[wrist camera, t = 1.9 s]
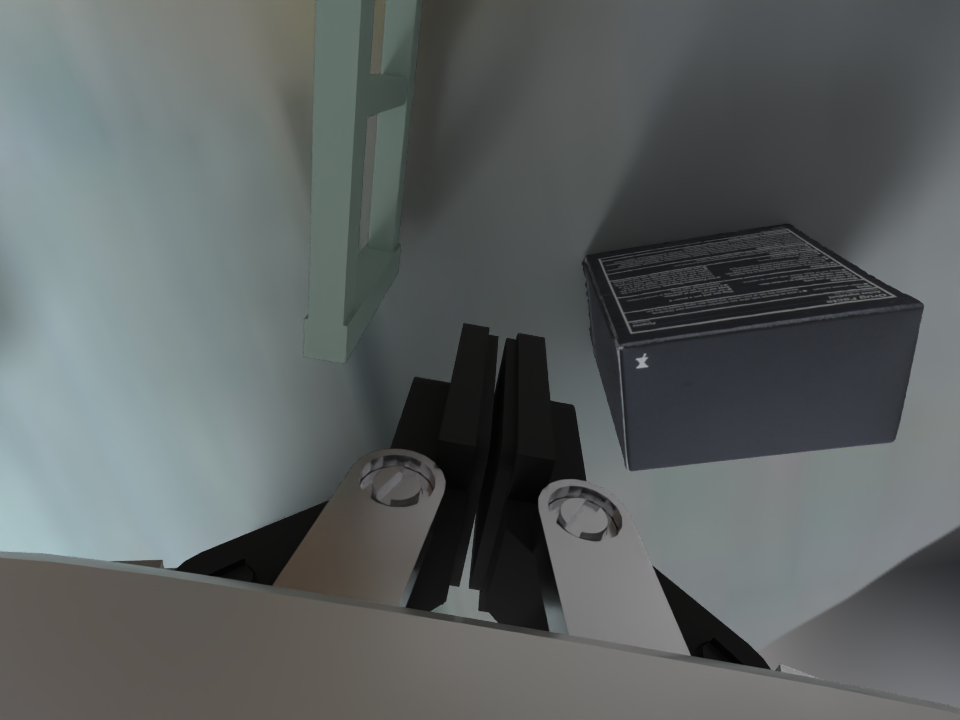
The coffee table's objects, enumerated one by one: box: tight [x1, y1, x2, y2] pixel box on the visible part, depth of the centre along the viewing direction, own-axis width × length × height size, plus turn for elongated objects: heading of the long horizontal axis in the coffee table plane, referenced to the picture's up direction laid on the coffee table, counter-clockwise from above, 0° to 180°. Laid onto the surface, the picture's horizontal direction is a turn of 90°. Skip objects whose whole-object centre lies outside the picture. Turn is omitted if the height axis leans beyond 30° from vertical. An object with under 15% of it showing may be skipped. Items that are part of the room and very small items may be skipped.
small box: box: [582, 224, 924, 471], centre depth 25 cm, size 11×6×10 cm, turn 101°
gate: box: [303, 0, 423, 364], centre depth 20 cm, size 18×2×11 cm, turn 171°
